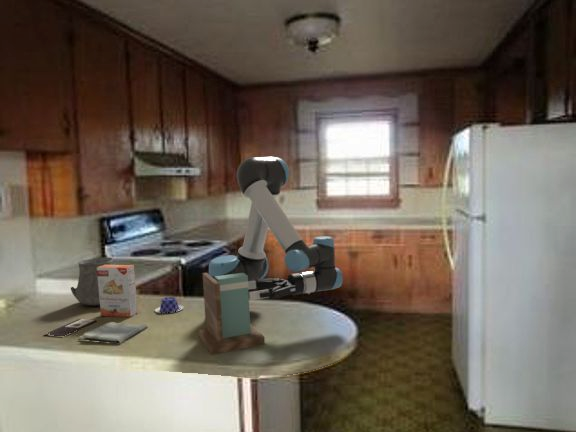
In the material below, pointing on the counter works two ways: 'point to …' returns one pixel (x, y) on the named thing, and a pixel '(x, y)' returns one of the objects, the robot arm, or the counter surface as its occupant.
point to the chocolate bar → (71, 327)
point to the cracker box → (117, 290)
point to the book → (234, 304)
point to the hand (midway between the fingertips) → (243, 291)
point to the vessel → (89, 281)
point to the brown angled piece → (214, 323)
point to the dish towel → (113, 332)
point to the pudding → (169, 305)
